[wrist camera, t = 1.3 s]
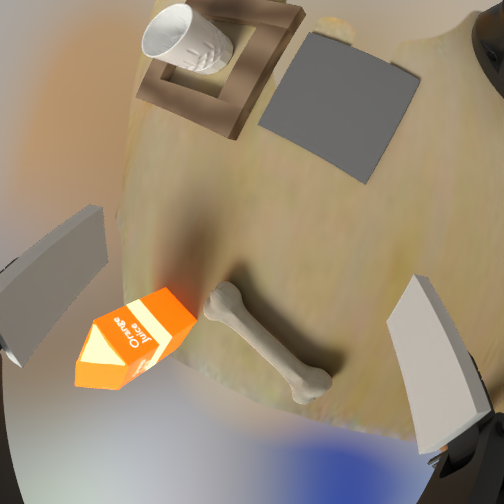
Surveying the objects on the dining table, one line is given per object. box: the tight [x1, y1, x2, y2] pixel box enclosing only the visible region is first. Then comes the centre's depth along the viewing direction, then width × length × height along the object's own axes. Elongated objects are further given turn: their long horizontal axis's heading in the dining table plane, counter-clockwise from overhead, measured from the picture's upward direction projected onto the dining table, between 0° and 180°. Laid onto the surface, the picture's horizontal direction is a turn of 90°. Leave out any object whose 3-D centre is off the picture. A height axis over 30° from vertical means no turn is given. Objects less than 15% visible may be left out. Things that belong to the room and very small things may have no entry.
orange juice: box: [75, 287, 197, 390], centre depth 35 cm, size 8×9×20 cm
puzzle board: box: [136, 0, 306, 140], centre depth 29 cm, size 20×20×2 cm
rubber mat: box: [258, 32, 420, 184], centre depth 25 cm, size 14×14×1 cm
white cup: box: [142, 3, 233, 75], centre depth 26 cm, size 8×8×10 cm
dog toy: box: [203, 281, 332, 404], centre depth 34 cm, size 20×6×5 cm, turn 53°
